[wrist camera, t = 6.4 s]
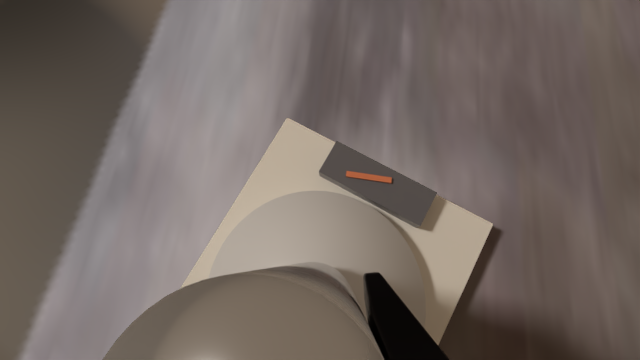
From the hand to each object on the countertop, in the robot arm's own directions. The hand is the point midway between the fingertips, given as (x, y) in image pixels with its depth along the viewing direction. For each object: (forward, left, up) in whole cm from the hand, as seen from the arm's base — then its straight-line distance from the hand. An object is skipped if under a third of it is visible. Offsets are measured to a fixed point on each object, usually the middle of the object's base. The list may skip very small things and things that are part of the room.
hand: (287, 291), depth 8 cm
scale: (-1, -1, -10) cm, 10 cm away
